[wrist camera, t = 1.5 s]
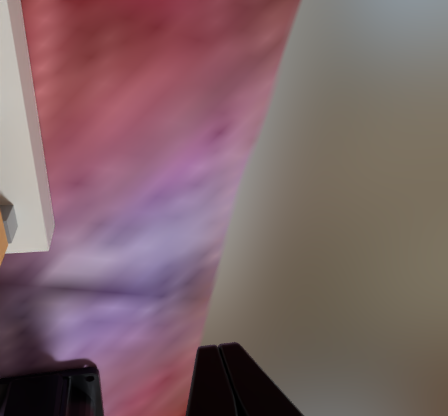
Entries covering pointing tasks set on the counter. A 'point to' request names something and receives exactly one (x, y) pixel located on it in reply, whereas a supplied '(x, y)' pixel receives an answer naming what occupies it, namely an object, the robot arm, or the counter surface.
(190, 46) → the counter surface
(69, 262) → the counter surface
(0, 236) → the fader orange
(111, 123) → the counter surface
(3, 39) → the console
